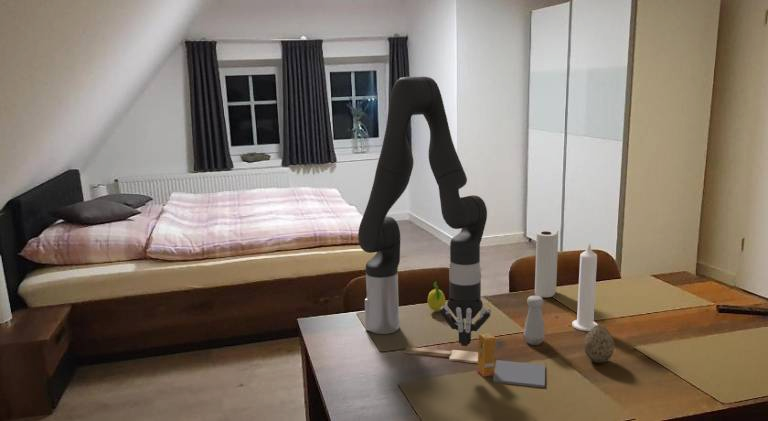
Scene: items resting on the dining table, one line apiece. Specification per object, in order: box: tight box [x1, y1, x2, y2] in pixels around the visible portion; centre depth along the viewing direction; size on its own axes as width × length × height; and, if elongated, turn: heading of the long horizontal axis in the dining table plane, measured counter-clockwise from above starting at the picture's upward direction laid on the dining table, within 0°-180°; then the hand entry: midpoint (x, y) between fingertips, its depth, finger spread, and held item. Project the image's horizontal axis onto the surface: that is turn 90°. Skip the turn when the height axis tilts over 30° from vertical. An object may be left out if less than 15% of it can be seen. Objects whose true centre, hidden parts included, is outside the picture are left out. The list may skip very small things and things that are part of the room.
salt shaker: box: [523, 295, 546, 346], centre depth 158 cm, size 6×6×13 cm
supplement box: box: [477, 332, 496, 378], centre depth 142 cm, size 3×3×10 cm
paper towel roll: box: [534, 230, 559, 298], centre depth 190 cm, size 7×6×21 cm
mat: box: [492, 359, 546, 388], centre depth 142 cm, size 12×10×1 cm
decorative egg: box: [583, 324, 615, 364], centre depth 146 cm, size 7×7×10 cm
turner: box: [405, 346, 478, 364], centre depth 153 cm, size 20×5×1 cm, turn 74°
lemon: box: [427, 281, 446, 313], centre depth 180 cm, size 7×6×10 cm
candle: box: [571, 243, 599, 332], centre depth 165 cm, size 7×7×25 cm
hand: (464, 344), depth 143 cm, fingers closed
